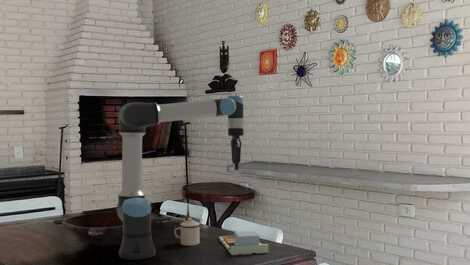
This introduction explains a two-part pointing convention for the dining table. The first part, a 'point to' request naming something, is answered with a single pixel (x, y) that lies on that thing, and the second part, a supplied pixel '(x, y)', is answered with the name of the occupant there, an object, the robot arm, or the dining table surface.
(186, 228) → the teacup with lid
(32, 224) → the dining table surface
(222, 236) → the tray
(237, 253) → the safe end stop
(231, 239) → the trap tiles
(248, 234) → the slate block
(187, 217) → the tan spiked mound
